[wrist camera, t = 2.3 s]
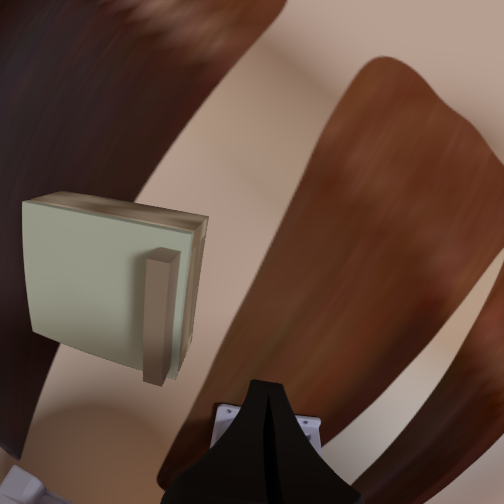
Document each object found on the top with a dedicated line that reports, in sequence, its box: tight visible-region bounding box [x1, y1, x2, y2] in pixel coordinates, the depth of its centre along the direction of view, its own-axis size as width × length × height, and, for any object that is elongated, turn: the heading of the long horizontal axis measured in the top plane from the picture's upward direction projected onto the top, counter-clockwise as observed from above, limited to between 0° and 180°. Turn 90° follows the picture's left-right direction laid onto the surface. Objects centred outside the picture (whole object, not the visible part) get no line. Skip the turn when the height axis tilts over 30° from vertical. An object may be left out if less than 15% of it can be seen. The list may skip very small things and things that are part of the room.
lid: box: [22, 200, 194, 386], centre depth 17 cm, size 12×10×3 cm
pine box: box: [31, 191, 209, 372], centre depth 21 cm, size 12×10×4 cm
